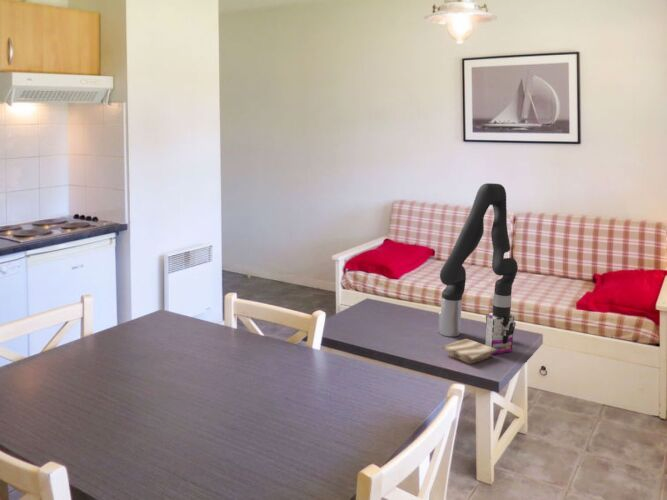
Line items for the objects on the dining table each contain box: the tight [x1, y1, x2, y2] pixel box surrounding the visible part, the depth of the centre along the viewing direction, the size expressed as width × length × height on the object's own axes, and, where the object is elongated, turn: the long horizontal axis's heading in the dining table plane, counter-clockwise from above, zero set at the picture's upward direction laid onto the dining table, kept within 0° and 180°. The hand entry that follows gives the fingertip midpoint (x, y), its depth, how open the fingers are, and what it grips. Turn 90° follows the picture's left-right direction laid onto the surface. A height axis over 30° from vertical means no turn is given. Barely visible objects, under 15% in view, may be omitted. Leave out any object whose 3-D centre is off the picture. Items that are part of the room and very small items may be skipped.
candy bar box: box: [484, 313, 515, 356], centre depth 281 cm, size 11×5×16 cm, turn 114°
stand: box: [441, 338, 497, 365], centre depth 276 cm, size 16×16×4 cm
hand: (498, 341), depth 282 cm, fingers closed on candy bar box, 5 cm apart
